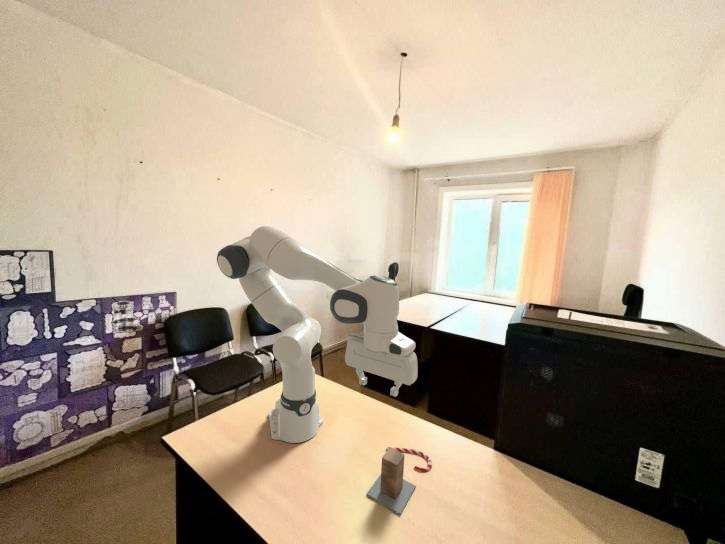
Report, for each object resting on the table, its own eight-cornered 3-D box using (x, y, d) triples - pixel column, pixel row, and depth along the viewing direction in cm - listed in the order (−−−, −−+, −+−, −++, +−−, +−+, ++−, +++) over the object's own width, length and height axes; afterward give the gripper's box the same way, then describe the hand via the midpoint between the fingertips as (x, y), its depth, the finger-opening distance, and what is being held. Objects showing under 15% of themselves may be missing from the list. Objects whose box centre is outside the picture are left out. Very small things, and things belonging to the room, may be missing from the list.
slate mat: (366, 495, 77) (366, 493, 77) (384, 470, 86) (384, 469, 86) (400, 515, 72) (400, 513, 72) (415, 487, 80) (415, 485, 80)
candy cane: (389, 440, 98) (434, 454, 92) (389, 444, 98) (433, 458, 92) (381, 456, 90) (430, 472, 85) (381, 460, 91) (429, 476, 85)
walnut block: (380, 491, 78) (382, 457, 77) (388, 480, 82) (389, 447, 81) (395, 499, 76) (397, 465, 75) (402, 488, 79) (404, 454, 78)
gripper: (340, 333, 77) (339, 382, 79) (411, 351, 66) (408, 408, 68) (354, 328, 83) (352, 373, 84) (421, 344, 72) (418, 396, 73)
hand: (378, 389), depth 76 cm, fingers open, 8 cm apart
